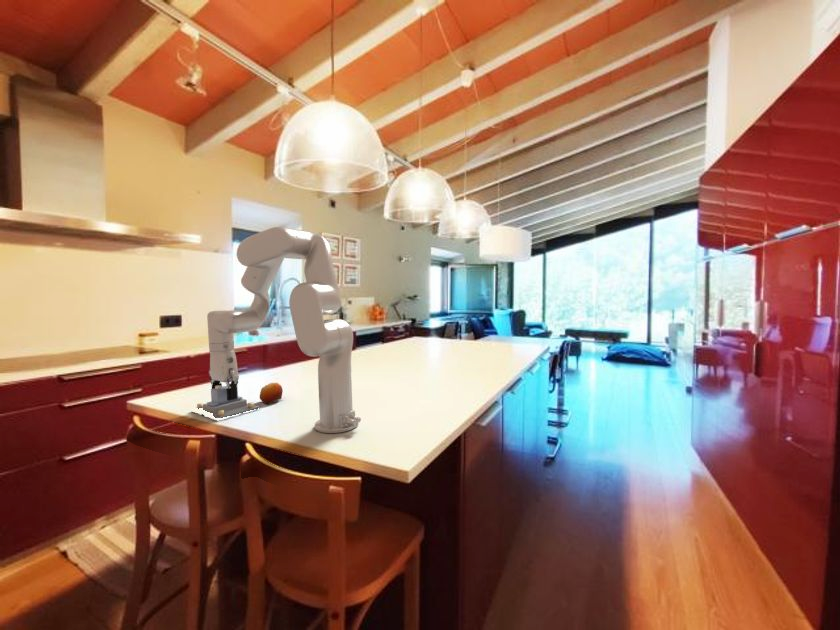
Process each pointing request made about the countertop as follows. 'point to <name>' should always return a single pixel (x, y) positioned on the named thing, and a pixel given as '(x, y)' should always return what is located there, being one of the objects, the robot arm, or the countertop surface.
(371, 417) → the countertop surface
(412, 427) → the countertop surface
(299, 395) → the countertop surface
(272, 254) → the robot arm
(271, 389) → the fruit
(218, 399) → the servo
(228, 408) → the chassis
